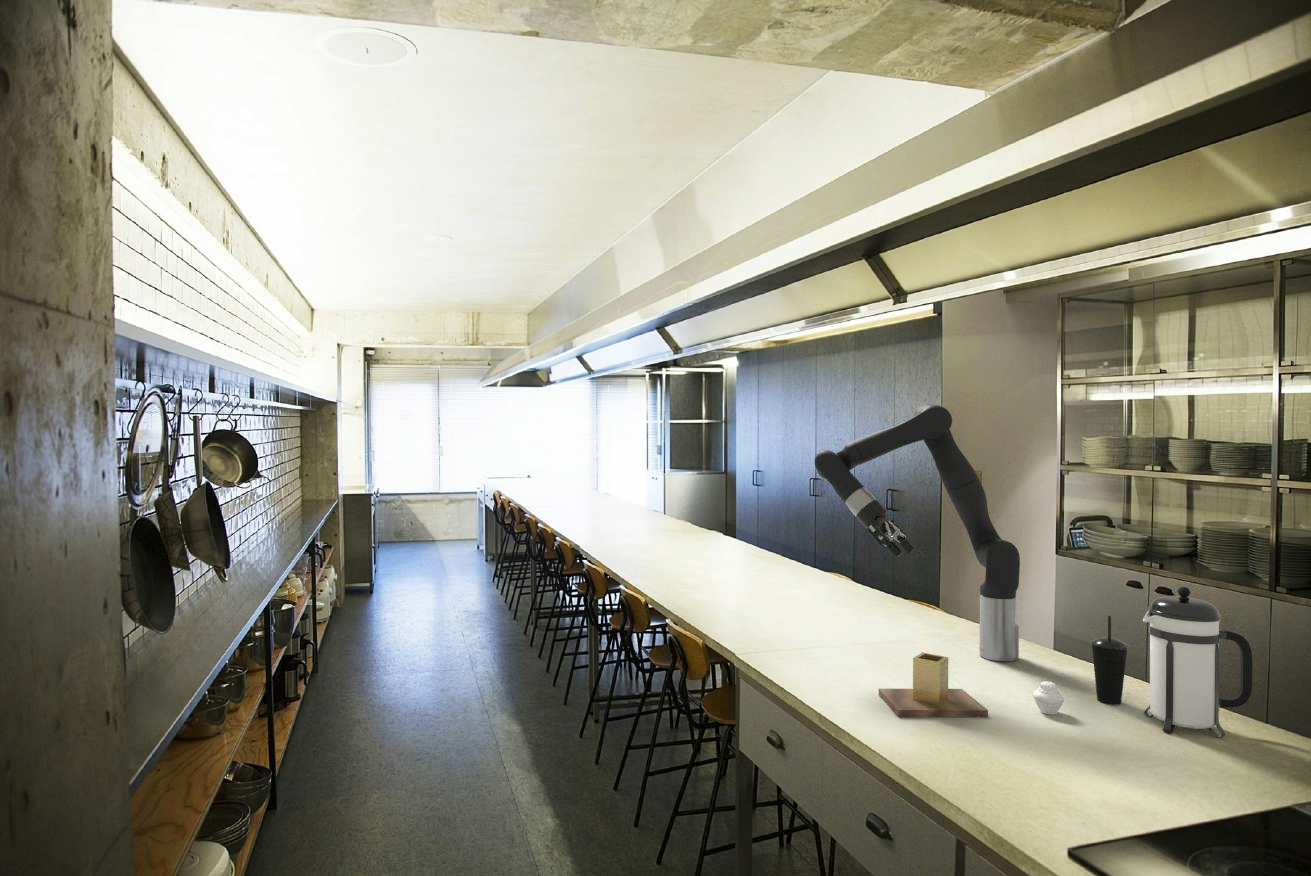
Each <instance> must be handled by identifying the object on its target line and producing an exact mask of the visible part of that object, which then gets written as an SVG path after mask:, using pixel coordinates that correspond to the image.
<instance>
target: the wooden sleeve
mask: <svg viewBox="0 0 1311 876" xmlns="http://www.w3.org/2000/svg"><path fill="white" fill-rule="evenodd" d="M912 689H913V700H918V701H922V702H926V703H931V704H935V705H941V704H942V703H943V702H944V701H946V700H947V699H948V689H949V657H948V656H943V655H939V654H934V653H933V654H932V653H927V652H921V653H919V654H918V655H916V656H914V657H912Z"/></svg>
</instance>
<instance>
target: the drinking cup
mask: <svg viewBox="0 0 1311 876" xmlns="http://www.w3.org/2000/svg"><path fill="white" fill-rule="evenodd" d="M1090 645H1091V648H1092V650H1091V651H1092V660H1093V671H1094V679H1095V680H1094V681H1095V690H1096V700H1097V702H1099V703H1102V704H1105V705H1108V706H1109V705H1111V706H1119V705H1121V704H1122V698H1123V692H1124V691H1123V689H1124V682H1125V681H1124V680H1125V673H1126V672H1125V671H1126V663H1127V662H1126V661H1127V655H1128V653H1127V652H1128V649H1129V647H1130V646H1129V644H1128V643H1126V642H1124V641H1122V640H1119V639H1117V638H1113V637H1112V615H1107V636H1105V637H1103V636H1102V637H1097V638H1094V639H1091V640H1090Z"/></svg>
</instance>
